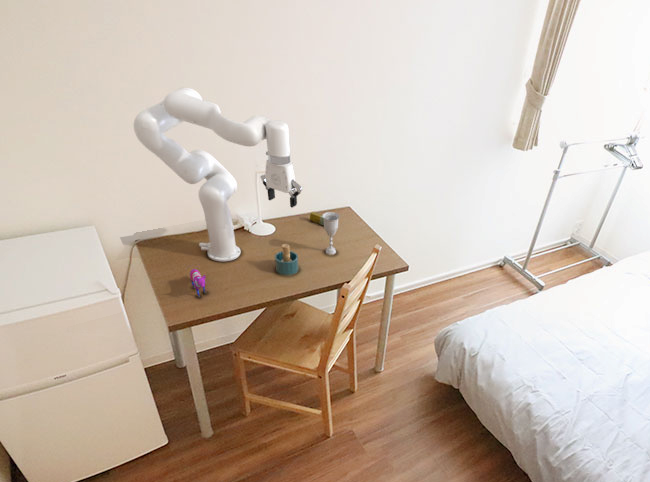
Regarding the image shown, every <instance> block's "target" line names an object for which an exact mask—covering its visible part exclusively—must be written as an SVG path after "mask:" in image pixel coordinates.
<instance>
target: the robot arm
mask: <svg viewBox="0 0 650 482" xmlns="http://www.w3.org/2000/svg"><path fill="white" fill-rule="evenodd" d="M184 122H185V123H189V124H192V125H195V126H199V127H203V128H205V129H209V130H212V131H213V133H214V134H216V135H217V136H218V137H219V138H221V139H223V140H225V141H227V142H229V143H233V144H236V145H239V146H243V147H255V146H257V145H258V144H259V143H261V141H264V140H266V148H267V149H266V150H267V151H265V155H266V156H267V160H266V162H265V173H264V174H262V175H260V177H259V178H260V179H261V182H262V184H263V186H264V187H265V190H266V191H267V200H268V201H272V200H274V199H275V198H276V191H278V192H282V193H284V194H285V193H287V194H288V195H289V196H290V197H289V207H290V208H291V209H293V208H294V207H296V206H297V205H298V196H299V195H300V194H301V192H302V191H303V187H302V186H301V185H300V184H299V183H297V182H296V176H295V170H294V165H293V163H292V162H291V149H290V148H291V147H290V130H289V125H288V124H287V122H285V121H281V120H273V119H269V118H267V117H264V116H261V115H253V116H251V117H249V118H248V119H246V120H245V121H243V122H240V121H237V120H232V119H230V118H228V117H226V116H224V115H222V112H221V109H220V106H219V105H218V104H217V103H215V102H212V101H209V100H204V99H203V98H202V95H200V93H199V92H198V91H196V90H195V89H193V88H191V87H186V86H183V87H180V88H178V89H176V90H173V91H171V92H169V93H167V95H166V96H165V97H164V100H161V102H159V103H156V104H155V105H152V106H150V107H147V108H146V109H143V110H141V111H140V112H139V113H138V114H137V115H136V116H135V117H134V120H133V130H134V133H135V136H136V138H137V140H138V141H139V142H140V144H141V145H142V146H144V147H145V149H147V150H148V151H150V152H151V153H152V154H154V155H155V156H156V157H157V158H159V159H160V160H161V161H162V162H163V163H164V164H165V165H166V166H167V167H168V168H169V169H171V170H172V171H173V172H174V173H175V174H176V175H177V176H178V177H179V178H180V179H182V181H184V182H185V183H187V184H189V185H196V184H198V183H200V182H201V181H202V180H204V179H205V180H206V181H205V182H204V183H202V185H201V186H200V188H199V190H198V200H199V202H200V205H201V207H202V210H203V214H204V219H205V224H206V229H207V236H208V241H209V242H199V244H198V245H199V248H200V249H201V251H207V257H208V258H209V259H211V260H213V261H214V262H215V261H216V262H223V263H225V262H231V261H235V260H236V259H238V258H239V257H240V256H241V253H242V252H241V248H240V247H239V246H237V243H236V238H235V231H234V230H235V229H234V223H233V217H232V212H231V209H230V208H229V206H228V201H229V200H230V199H231V197H233V196H234V195H235V193H236V192H237V191H238V182H237V180H236V179H235V177H234V176H233V174H232V173H230V172H229V170H227V168H226V167H224V166H223V164H222V163H220V162H219V161H218V159H216V158H215V157H214V156H213V155H212V154H211V153H209V152H208V151H205V150H203V149H194V150H192V151H189V152H188V151H187V150H186V148H184V147H183V146H182V145H181V144H179V143H178V141H176V140H174V139H172V138H170V137H168V136H167V135H165V133H167V132H168V131H171V130H172V129H173V128H176V127H177V126H179V125H181V124H182V123H184ZM275 190H276V191H275Z"/></svg>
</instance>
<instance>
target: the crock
mask: <svg viewBox="0 0 650 482" xmlns="http://www.w3.org/2000/svg"><path fill="white" fill-rule="evenodd" d="M274 255H275V256H274V264H275V272H277V273H278V274H280V275H284V276H291V275H295V274H297V273H298V272H299V255H298V254H297V253H296V252H295V251H292V250H290V259H291V260H292V261H290V262H283V261H282V259H283V252H282V251H278V252H276V254H274Z"/></svg>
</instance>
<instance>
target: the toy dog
mask: <svg viewBox="0 0 650 482" xmlns="http://www.w3.org/2000/svg"><path fill="white" fill-rule="evenodd" d="M206 276H207V275H206V274H203V276H202V275H201V272H200V271H199V270H198V269H196V268H193V269H191V270H190V272H189V277H190V282H191V285H192V287H193V289H194V290H196V293H197V298H199V299H200V298H201V296H200V290H199V289H200V288H202V291H203V294H204V295H207V291H206V289H205V287H206Z"/></svg>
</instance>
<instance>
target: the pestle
mask: <svg viewBox="0 0 650 482" xmlns="http://www.w3.org/2000/svg"><path fill="white" fill-rule="evenodd" d="M290 247H291V246H290V244H288V243H283V244H282V245H281V250H282V252H283V259H282V261H283V262H290V261H292V260H291V259H290V251H291V248H290Z"/></svg>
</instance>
